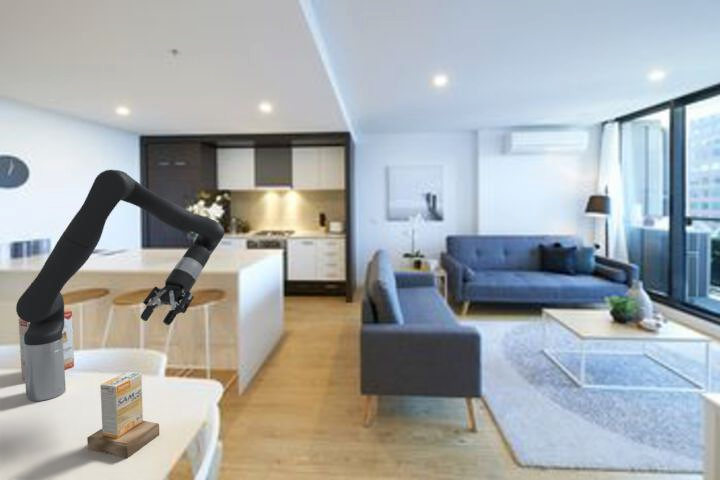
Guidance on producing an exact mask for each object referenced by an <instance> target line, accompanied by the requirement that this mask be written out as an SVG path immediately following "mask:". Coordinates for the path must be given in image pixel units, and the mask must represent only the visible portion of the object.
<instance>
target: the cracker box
mask: <svg viewBox="0 0 720 480" xmlns="http://www.w3.org/2000/svg"><path fill="white" fill-rule="evenodd" d="M29 324H30V322H26V321H23V320H22V319H20V318H18V332H19V333H18V334H19V349H20V350H19V351H20V365H21V366H20V367H21V369H20V370H21V378H22V379H23V380H25V371H24V367H25V366H26V358H25V345H24V335H25V333H26V331H27V329H28V327H29ZM62 338H63V353H64V369H65V370H69V369H70V368H74V367H75V355H74V331H73V311H72V310H70V309H64V328H63V331H62Z"/></svg>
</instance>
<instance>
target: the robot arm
mask: <svg viewBox="0 0 720 480" xmlns="http://www.w3.org/2000/svg"><path fill="white" fill-rule="evenodd" d="M121 201H122V202H126V203H129V204H131V205H133V206H136V207H138V208H140V209H142V210H144V211H145V212H147V213H149V214H150V215H152V216H153V217H155V218H156V219H157V220H158V221H160V222H162V223H164V224H166V225H167V226H169V227H170V228H173V229H175V230H177V231H179V232H181V233H183V234H189V233H194V234H196V235H197V236H196V238H195V240H194V241H193V243H192V245H191V246H189V247H188V249H187V250H186V251H185V253H184V254H183V256H182V257H181V258H180V260H179V261H178V262H177V263H176V264H175V266H174V268H173V269H172V271H171V272H170V273H169V275H168V276H167V278H166V279H165V280H164V283H165V284H164V287H162V288H159V287H158V286H154V287H152V290H151V291H150V292H149V293H148V295H147V296H146V297H145V299H144V300H143V301H142V303H143V304H144V305H145V306H146V307H145V309H144V310H143V311H142V312H141V314H140V319H141V320H142V321H144V322H147V321H148V320H149V319H150V317H151V315H152V314H153V313H154V310H156V309H157V308H158V307H163V306H164V305H166V306H167V305H169V306H170V308H171V309H170V310H168V312H167V314H166V315H165V317H164V319H163V320H162V323H163V324H164V325H166V326H170V325H171V324H172V323H173V321H174V320H175V319H176V316H177V315H179V314H185V313H186V312H187V310H188V308H189V307H190V305H191V303H192V301H193V299H194V295H193V293H191V290H192V288H193V287H194V285H195V284H196V282H197V280H198V279H199V277H200V275H201V273H202V272H203V269H204V268H205V266H206V265H207V263H208V261H209V259H210V258H211V255H212V254H213V253H214V252H215V250H216V249H217V247H218V245H219V244H220V242H221V241H222V239H223V238H224V236H225V228H224V226H223V225H222V224H221V223H220V222H218V221H217V220H214V219H212V218H209V217H206V216H202V215H199V214H195V213H193V212H192V211H190V210H188V209H185V208H184V207H182V206H180V205H178V204H176V203H175V202H173V201H170V200H169V199H166V198H164V197H162V196H160V195H159V194H157V193H154V192H153V191H152V190H149V189H148V188H147V187H145V186H144V185H142V184H141V183H140V182H138V181H137V180H136V179H134V178H133V177H132V176H131V175H129V174H128V173H127V172H125V171H122V170H117V169H106V170H103V171H102V172H100V173H99V174H97V176H95V179H94V181H93V182H92V185H91V188H90V189H89V191H88V194H87V196H86V198H85V200H84V202H83V204H82V205H81V207H80V208H79V210H78V211H77V212H76V213H75V215H74V216H73V218H72V219H71V220H70V222H69V224H68V225H67V227H66V228H65V230H64V231H63V232H62V234H61V236H60V237H59V239H58V240H57V242H56V244H55V245H54V247H53V249H52V251H51V252H50V254H49V256H48V257H47V259H46V260H45V261H44V264H43V265H42V268H41V269H40V271H39V273H38V274H37V275H36V277H35V278H34V280H33V281H32V282H31V283H30V285H28V287H27V288H26V289H25V290H24V292H23V293H22V294H21V296H20V297H19V298H18V300H17V302H16V305H15V311H16V314H17V316H18V319H22V320H23V321H26V322H30V324H29V327H28V329H27V331H26V333H25V335H24V345H25V358H26V366H25V367H24V371H25V379H24V380H25V381H24V384H25V393H26V394H25V395H26V397H27V399H28V400H29V401H32V402H40V401H46V400H50V399H55V398H58V397H59V396H61V395H63V394H65V392H66V390H67V389H66V371H65V370H66V369H64V353H63V338H62V331H63V328H64V310H65V302H64V297H63V295H62V293H61V291H62V290H63V288H64V286H65V285H66V284H67V282H68V281H70V280H71V278H72V277H73V276H75V274H77V272H79V270H80V269H81V268H82V267H83V266H84V265H85V263H87V261H88V260H89V258H90V257H91V255H92V254H93V252H94V250H95V249H96V247H97V246H98V245H99V242H100V241H101V238H102V235H103V232H104V228H105V225H106V222H107V220H108V218H109V216H110V215H111V214H112V212H113V211H114V209H115V208H116V207H117V205H118V204H119V203H120V202H121Z"/></svg>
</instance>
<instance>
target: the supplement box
mask: <svg viewBox="0 0 720 480" xmlns="http://www.w3.org/2000/svg"><path fill="white" fill-rule="evenodd" d="M142 377H143V376H142V373H139V372H133V371H126V372H124V373H122V374H121V375H118V376H116V377H114V378H111V379H110V380H107V381H105V382H104V383H101V384H100V403H101V405H100V406H101V423H102V424H101V425H102V427H101V429H102V430H103V436H107V437H113V438H119V437H120V436H121V435H123V434H124V433H126V432H127V431H129V430H130V429H132V428H133V427H135V426H136V425H138V424H140V423H141V422H143V421H144V415H143V413H144V412H143V411H144V409H143V383H142V381H143V378H142Z"/></svg>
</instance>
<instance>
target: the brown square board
mask: <svg viewBox="0 0 720 480" xmlns="http://www.w3.org/2000/svg"><path fill="white" fill-rule="evenodd" d="M158 436H160V423H157V422H153V421H146V420H143V422H141V423H140V424H138V425H136V426H135V427H133V428H132V429H130V430H129V431H127V432H126V433H124V434H123V435H121V436H120V437H119V438H113V437H107V436H103V430H102V428H99V430H97V431H95V432H94V433H92V434H91V435H89V436H87V437H86V438H87V439H86V441H87V449H88V451H89V450H90V451H94V452H98V451H99V452H100V453H103V452H105V453H104V454H107V453H109V455H112V454H113V455H112V456H117V457H122V458H125V457H126V459H129V458H130V457H131V456H133V455H134V454H135V453H137V452H138V451H140V450H141V449H143V448H144V447H145V446H146V445H148V444H149V443H150V442H152V441H153V440H154V439H155V438H157V437H158ZM99 452H98V453H99ZM128 457H129V458H128Z"/></svg>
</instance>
